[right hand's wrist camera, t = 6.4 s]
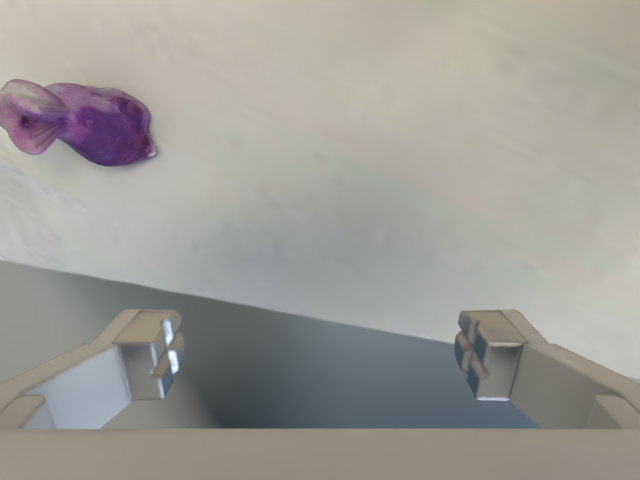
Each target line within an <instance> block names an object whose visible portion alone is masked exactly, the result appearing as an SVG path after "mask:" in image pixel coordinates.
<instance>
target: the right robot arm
mask: <svg viewBox="0 0 640 480" xmlns="http://www.w3.org/2000/svg"><path fill="white" fill-rule="evenodd" d="M181 324H182V321H181V316H180V313H179V312H178V311H177V310H141V309H135V310H123V311H121V312H120V313H119V314H118V315H117V316H116V317H115V318H114V319H113V321H112V322H111V323H110V324H109V325H108V326H107V327H106V328H105V329H104V330H103V331H102V332H101V333H100V334H99V335H98V336H97V337H96V339H95V340H94V341H93V342H92V343H91V344H83V345H81V346H79V347H77V348H75V349H73V350H71V351H68V352H66V353H64V354H62V355H60V356H58V357H56V358H54V359H51V360H49V361H47V362H45V363H43V364H41V365H39V366H37V367H34V368H32V369H30V370H28V371H26V372H24V373H22V374H19V375H17V376H15V377H13V378H11V379H9V380H7V381H4V382H2V383H0V480H640V383H637V382H635V381H633V380H631V379H629V378H627V377H625V376H623V375H620V374H618V373H616V372H614V371H612V370H610V369H608V368H606V367H603V366H601V365H599V364H597V363H595V362H593V361H591V360H589V359H586V358H584V357H582V356H580V355H578V354H576V353H574V352H572V351H569V350H567V349H565V348H563V347H561V346H559V345H557V344H549V343H548V342H547V341H546V340H545V339H544V337H543V336H542V335H541V334H540V333H539V332H538V331H537V330H536V329H535V328H534V327H533V326H532V325H531V324H530V323H529V322H528V320H527V319H526V318H525V317H524V316H523V315H522V314H521V313H520V312H519V311H517V310H515V309H507V310H478V311H461V313H460V315H459V320H458V324H459V326H460V327H461V329H462V330H461V331H460V332H459V333H458V334H457V335H456V338H455V346H454V347H455V356H456V360H457V363H458V365H459V367H460V369H461V370H462V371H464V372H465V373H467V374H468V377H467V382H468V384H469V386H470V388H471V390H472V392H473V394H474V396H475V398H476V399H477V400H507V401H509V403H511V404H512V405H513V406H514V407H516V408H517V409H518V410H519V411H520V412H522V413H523V414H524V415H525V416H527V417H528V418H529V419H530V420H532V421H533V422H534V423H535V424H536V425H538V426H539V427H540V428H541V429H99V428H100V427H101V426H102V425H104V424H105V423H106V422H107V421H109V420H110V419H111V418H112V417H114V416H115V415H116V414H117V413H119V412H120V411H121V410H122V409H123V408H125V407H126V406H127V405H128V404H130V403H131V401H133V400H163V399H164V398H165V396H166V394H167V392H168V390H169V388H170V386H171V384H172V383H173V377H172V374H173V373H175V372H176V371H178V370H179V369H180V367H181V365H182V363H183V360H184V355H185V338H184V335H183V334H182V333H181V332H180V331H179V330H178V329H179V327H180V326H181Z"/></svg>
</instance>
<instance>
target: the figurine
mask: <svg viewBox="0 0 640 480" xmlns="http://www.w3.org/2000/svg"><path fill="white" fill-rule="evenodd" d="M149 121H150V114H149V111H148V110H147V108H146V107H145V106H144V105H143V104H142V103H141V102H139V101H138V100H137V99H135V98H133V97H131V96H129V95H127V94H126V93H124V92H122V91H119V90H116V89H114V88H102V89H98V88H94V87H91V86H82V85H78V84H71V83H56V84H52V85H48V86H46V87H44V88H43V87H42V86H40V85H38V84H35V83H33V82H29V81H26V80H20V79H15V80H10V81H8V82H7V83H6V84H5V85H4V86H3V88H2V89H1V90H0V126H1V127H2V128H3V129H5V130H6V131H7V132H8V135H9V137H10V138H11V140H12V142H13V143H14V144H15V146H16V147H18V149H19V150H21V151H23V152H25V153H27V154H31V155H37V154H41V153H43V152H44V151H45V150H46V149H47V148H48V147H49V146H50V145H51V144H52V143H53V142H54V141H55V139H56V138H57V137H58V138H59V139H61V140H62V141H64V142H65V143H67V144H68V145H69V146H70V147H71V148H73V149H74V150H75V151H76V152H77V153H79V154H80V155H81V156H83V157H84V158H86V159H87V160H89V161H91V162H94V163H96V164H99V165H102V166H123V165H128V164H131V163H133V162H136V161H139V160H143V159H147V158H151V157H153V156H154V155H155V154H156V146H155V145H154V144H153V142H152V140H151V138H150V136H149V133H148V124H149Z"/></svg>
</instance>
